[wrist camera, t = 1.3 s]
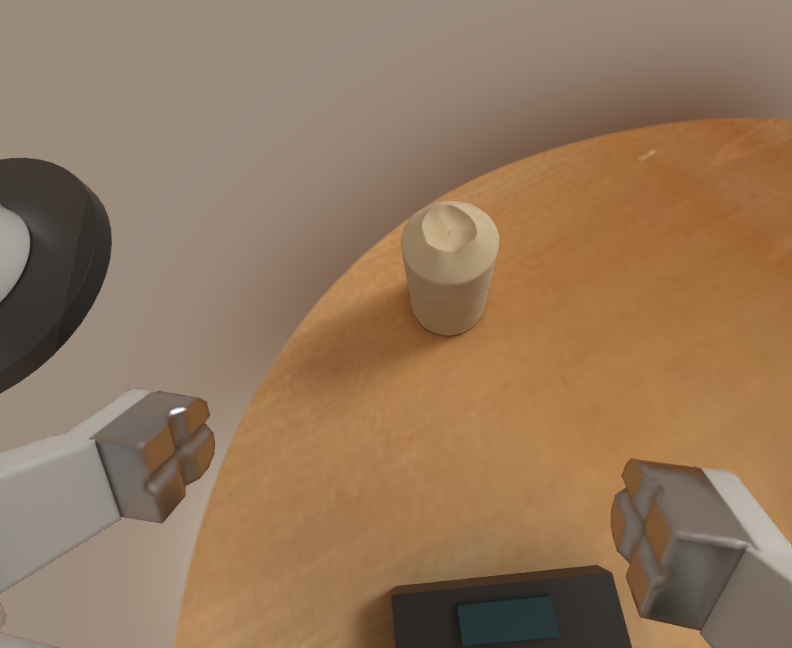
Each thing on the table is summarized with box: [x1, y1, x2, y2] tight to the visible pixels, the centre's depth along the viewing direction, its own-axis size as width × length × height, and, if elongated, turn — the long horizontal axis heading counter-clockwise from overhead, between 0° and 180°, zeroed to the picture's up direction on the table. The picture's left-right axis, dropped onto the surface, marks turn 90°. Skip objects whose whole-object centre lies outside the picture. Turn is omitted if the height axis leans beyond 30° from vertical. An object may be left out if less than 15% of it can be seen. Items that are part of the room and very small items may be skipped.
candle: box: [401, 201, 499, 336], centre depth 26 cm, size 6×6×10 cm
